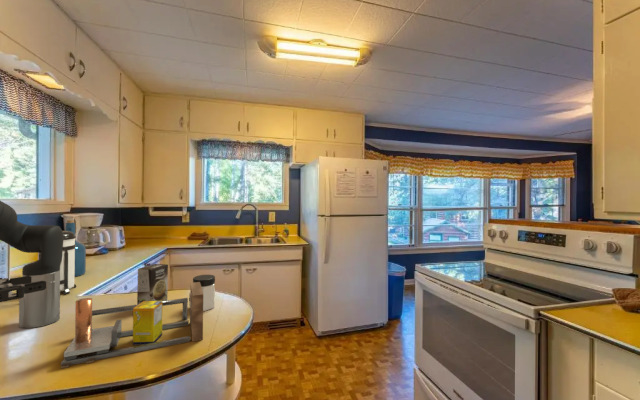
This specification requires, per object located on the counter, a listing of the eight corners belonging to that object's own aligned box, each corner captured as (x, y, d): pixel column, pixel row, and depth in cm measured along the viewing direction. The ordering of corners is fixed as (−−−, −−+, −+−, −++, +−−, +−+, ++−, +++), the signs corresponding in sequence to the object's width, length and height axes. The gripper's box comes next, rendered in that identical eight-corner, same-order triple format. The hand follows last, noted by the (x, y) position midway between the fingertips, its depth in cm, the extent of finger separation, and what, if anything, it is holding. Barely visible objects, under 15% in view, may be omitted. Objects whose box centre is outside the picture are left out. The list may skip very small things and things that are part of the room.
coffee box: (150, 312, 107) (151, 269, 107) (136, 310, 108) (136, 268, 108) (168, 303, 116) (168, 264, 116) (154, 301, 117) (155, 263, 117)
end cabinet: (189, 342, 85) (190, 296, 85) (187, 323, 98) (188, 283, 98) (202, 339, 87) (203, 294, 87) (199, 321, 99) (199, 281, 99)
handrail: (81, 337, 87) (81, 312, 87) (83, 335, 89) (83, 311, 88) (187, 319, 101) (187, 298, 101) (187, 318, 102) (187, 297, 102)
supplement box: (142, 335, 89) (143, 300, 89) (162, 334, 90) (163, 300, 90) (132, 345, 83) (132, 308, 83) (153, 344, 84) (153, 307, 84)
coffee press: (22, 296, 121) (22, 226, 121) (66, 285, 136) (67, 223, 136) (44, 302, 115) (45, 228, 114) (89, 290, 130) (89, 225, 129)
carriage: (63, 360, 72) (64, 310, 72) (79, 337, 84) (79, 294, 84) (114, 350, 77) (115, 303, 77) (122, 330, 89) (123, 289, 89)
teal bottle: (89, 274, 155) (90, 220, 155) (58, 280, 144) (58, 221, 143) (80, 270, 162) (80, 218, 162) (49, 276, 151) (49, 220, 151)
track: (59, 369, 71) (59, 364, 71) (78, 341, 85) (78, 337, 85) (190, 342, 85) (190, 338, 85) (188, 322, 98) (188, 319, 98)
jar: (214, 310, 109) (215, 279, 109) (191, 313, 107) (192, 281, 106) (214, 302, 118) (215, 273, 118) (193, 304, 115) (193, 275, 115)
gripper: (-62, 289, 53) (51, 270, 67) (-81, 278, 59) (26, 263, 74) (-63, 329, 53) (50, 302, 67) (-81, 314, 59) (26, 292, 74)
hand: (38, 282), depth 71 cm, fingers open, 8 cm apart
